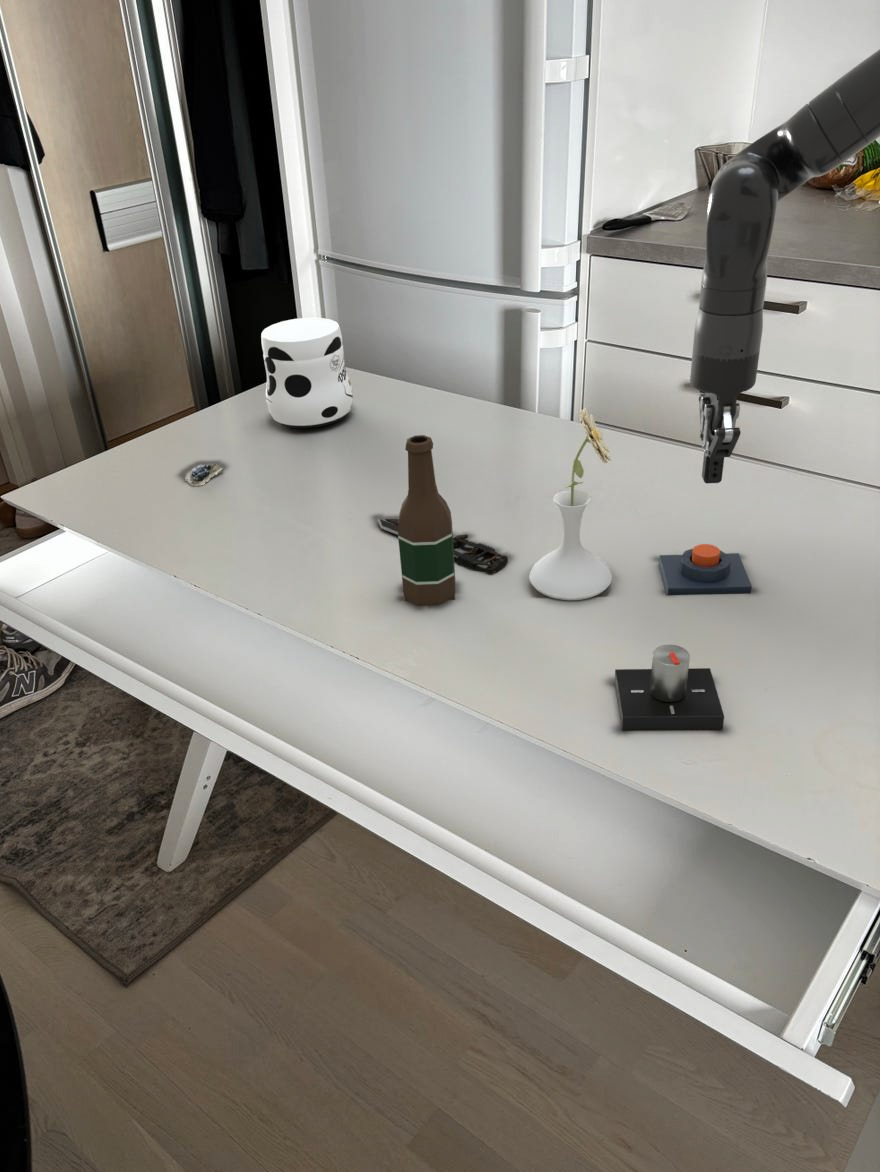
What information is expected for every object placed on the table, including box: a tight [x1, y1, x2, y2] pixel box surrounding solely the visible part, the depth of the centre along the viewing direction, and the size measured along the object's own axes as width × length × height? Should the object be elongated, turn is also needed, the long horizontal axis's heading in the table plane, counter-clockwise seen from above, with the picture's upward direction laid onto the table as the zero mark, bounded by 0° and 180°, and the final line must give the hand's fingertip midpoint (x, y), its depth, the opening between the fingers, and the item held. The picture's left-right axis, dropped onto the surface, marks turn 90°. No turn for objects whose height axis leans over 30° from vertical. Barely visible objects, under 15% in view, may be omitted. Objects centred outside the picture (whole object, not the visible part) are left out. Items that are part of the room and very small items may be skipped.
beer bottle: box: [397, 434, 456, 607], centre depth 132 cm, size 8×8×24 cm
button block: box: [658, 548, 753, 596], centre depth 135 cm, size 11×9×4 cm
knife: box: [377, 518, 509, 574], centre depth 151 cm, size 25×6×1 cm, turn 41°
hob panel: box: [614, 667, 725, 732], centre depth 113 cm, size 11×9×3 cm
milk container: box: [260, 317, 354, 429], centre depth 193 cm, size 17×17×18 cm
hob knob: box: [650, 644, 691, 702], centre depth 111 cm, size 4×4×6 cm
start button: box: [692, 543, 721, 567], centre depth 134 cm, size 4×4×2 cm
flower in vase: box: [529, 407, 613, 601], centre depth 131 cm, size 13×11×25 cm
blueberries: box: [184, 463, 224, 487], centre depth 178 cm, size 7×8×2 cm
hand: (711, 480), depth 124 cm, fingers closed
